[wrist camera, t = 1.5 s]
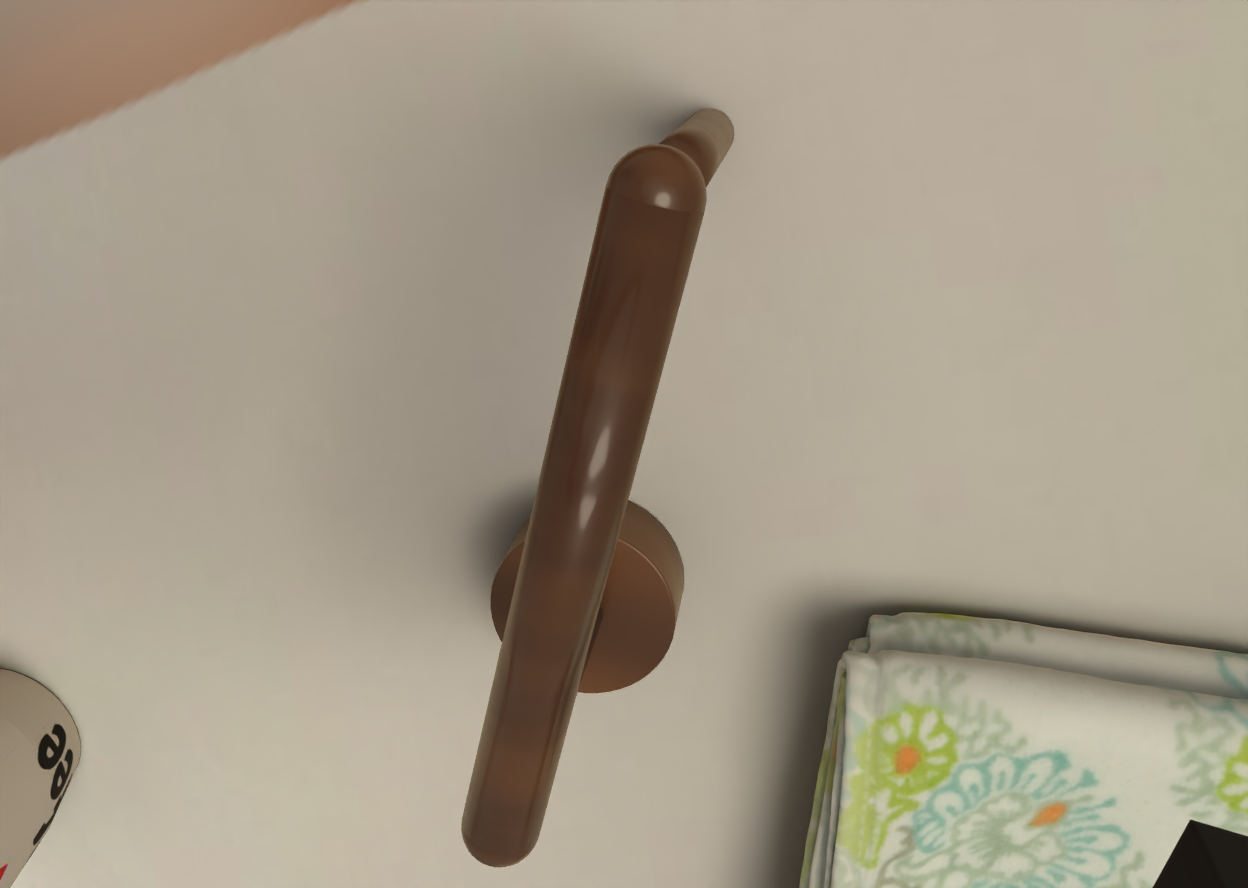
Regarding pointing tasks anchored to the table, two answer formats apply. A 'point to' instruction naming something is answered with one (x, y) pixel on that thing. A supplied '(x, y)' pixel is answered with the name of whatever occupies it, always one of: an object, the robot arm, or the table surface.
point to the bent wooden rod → (593, 497)
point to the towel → (1021, 756)
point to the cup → (31, 767)
